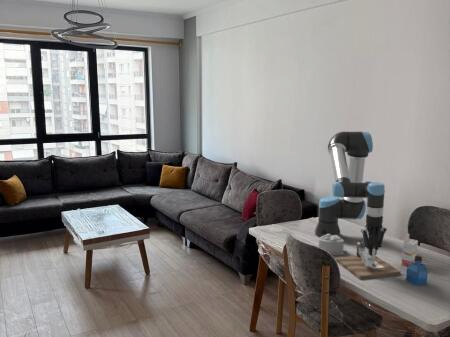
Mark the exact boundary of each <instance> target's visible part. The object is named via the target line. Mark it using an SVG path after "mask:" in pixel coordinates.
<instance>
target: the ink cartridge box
mask: <svg viewBox="0 0 450 337" xmlns="http://www.w3.org/2000/svg"><path fill="white" fill-rule="evenodd" d="M418 244H419V240H417V239H413V238H412V239H411V238H410V233H407V234H406V235H405V236H404V239H403V244H402V257H401V265H403V266H406V267H408V266H409V265H410V264H411V263H414V259H415V256H418V255H417V254H418Z"/></svg>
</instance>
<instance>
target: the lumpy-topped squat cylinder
mask: <svg viewBox="0 0 450 337" xmlns="http://www.w3.org/2000/svg"><path fill="white" fill-rule="evenodd" d="M317 242H318V244H317V247H319V248H322V249H324V250H326V251H327V252H329V253H330V254H331V256H332V255H333V256H334V255H336V256H337V255H342V254H344V245H345V244H344V242H345V240H344V239H343V238H341V236H340V237H339V236H338V235H331V234H326V235H324V236H322V237H319V238H318V241H317Z"/></svg>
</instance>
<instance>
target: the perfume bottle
mask: <svg viewBox="0 0 450 337" xmlns="http://www.w3.org/2000/svg"><path fill="white" fill-rule="evenodd" d="M428 275H429V270H428V268H427V266H426V264H423V256H420V255H416V256H415V259H414V263H411V264H410V265H409V266H406V275H405V281H406V282H409V283H410V282H411V283H410V284H412V283H413V284H412V285H414V286H416V287H418V286H421V285H422V284H423V285H426V284H428Z"/></svg>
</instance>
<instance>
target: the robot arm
mask: <svg viewBox="0 0 450 337" xmlns="http://www.w3.org/2000/svg"><path fill="white" fill-rule="evenodd" d="M373 146H374V145H373V137H372V134H371V133H370V132H368V131H340V132H337V133H335V134H334V135H333V136H331V138H330V140H329V142H328V144H327V152H328V154H329V155H330V158H331V163H332V164H331V165H332V170H333V175H334V180H335V181H334V182H332V185H331V191H332V192H331V194H332V196H331V195H329V196H324V197H322V198H319V203H318V204H319V205H318V222H317V225H316V227H315V229H314V235H315V236H317V237H319V238H320V237H322V236H324V235H326V234H331V235H338V236H339V237H340V238H341V229H340V226H339V219H340V220H362V219H363V217H364V216H365V214H366V216H365V228H363V229H361V230H360V232H361V233H362V238H363V242H364V244H365V249H368V251H367V252H368V254H369V256H370V257H371V259H372V263H374V262H375V256H377V253H378V252H377V251H378V250H379V248H381V247H382V244H383V239H384V236H385V234H386V231H388V228H386V227H383V223H384V221H383V220H384V217H383V215H384V203H385V192H386V191H385V189H386V188H385V184H384V183H382V182H377V181H375V182H374V181H369V180H368V181H364V171H365V163H366V158H368V157H369V155H370V154H369V153H372V152H373V150H374V147H373ZM346 153H347V154H346ZM346 155H347V156H348V157H349V160H348V162H347V157H346ZM363 181H364V182H363ZM340 198H342V199H340ZM364 199H366V200H364Z"/></svg>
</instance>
